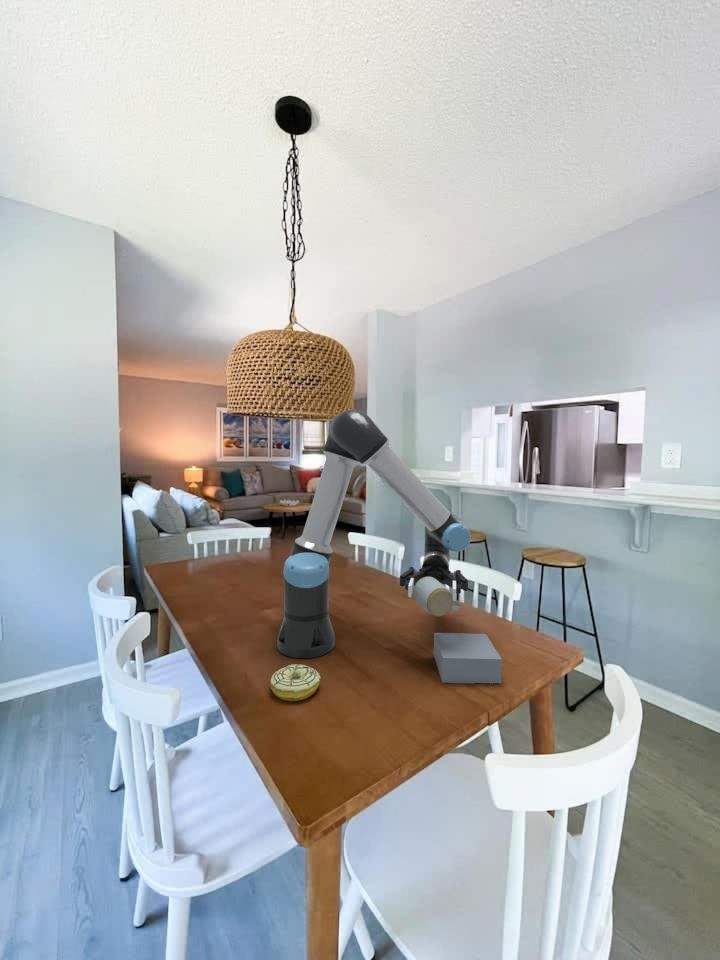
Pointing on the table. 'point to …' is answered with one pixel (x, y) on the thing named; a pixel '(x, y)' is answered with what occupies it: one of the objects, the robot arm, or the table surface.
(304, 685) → the decorated donut
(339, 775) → the table surface
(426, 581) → the ceramic mug
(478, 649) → the riser block
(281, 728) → the table surface
